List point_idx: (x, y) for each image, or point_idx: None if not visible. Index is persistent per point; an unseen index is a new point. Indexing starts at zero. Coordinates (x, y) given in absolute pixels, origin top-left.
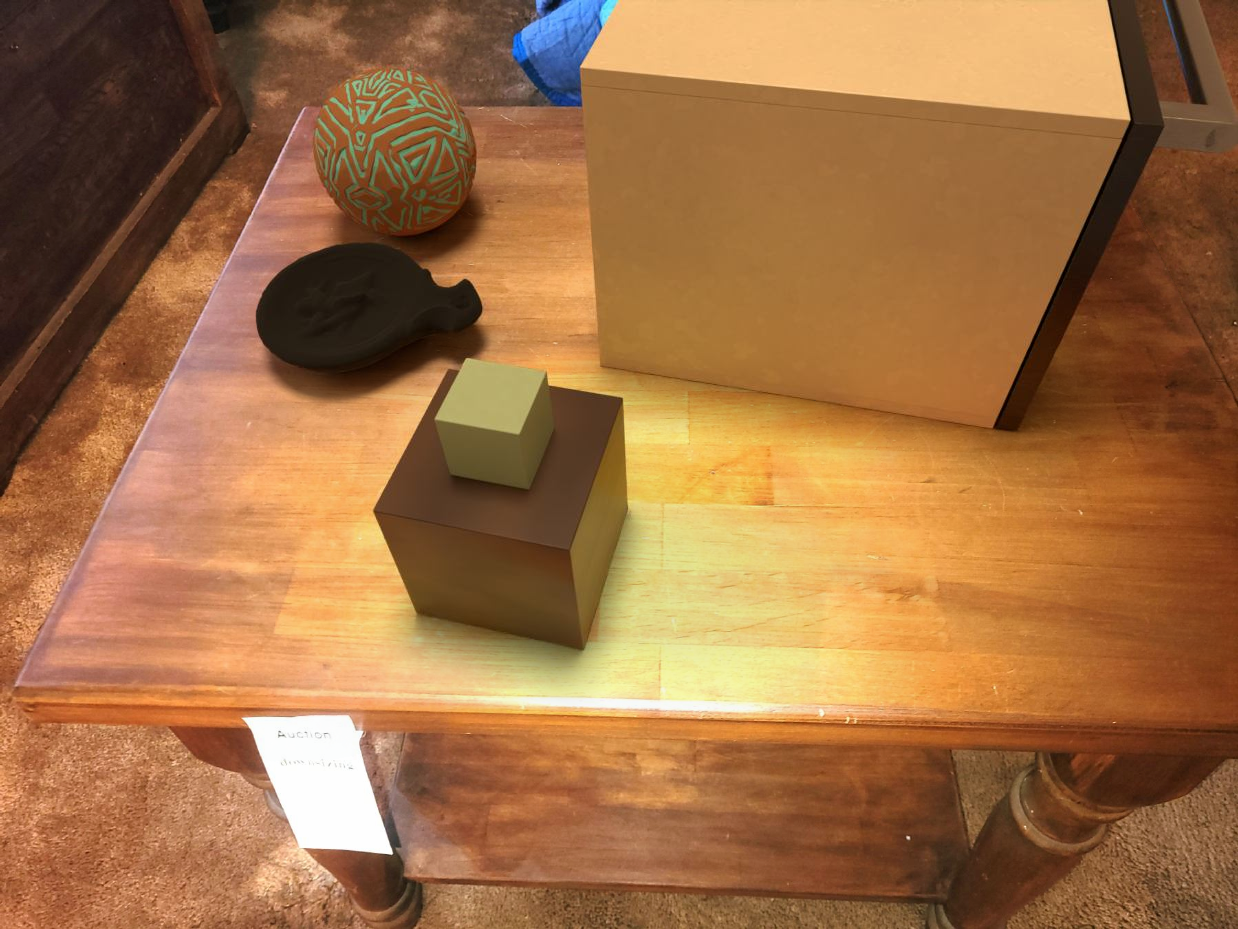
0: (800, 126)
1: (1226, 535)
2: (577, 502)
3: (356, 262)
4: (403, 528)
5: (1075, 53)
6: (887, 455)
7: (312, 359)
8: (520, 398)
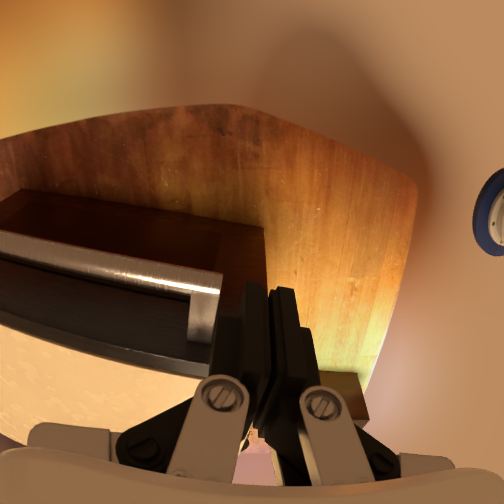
0: None
1: (335, 141)
2: (353, 421)
3: None
4: None
5: (172, 392)
6: None
7: (247, 445)
8: None
